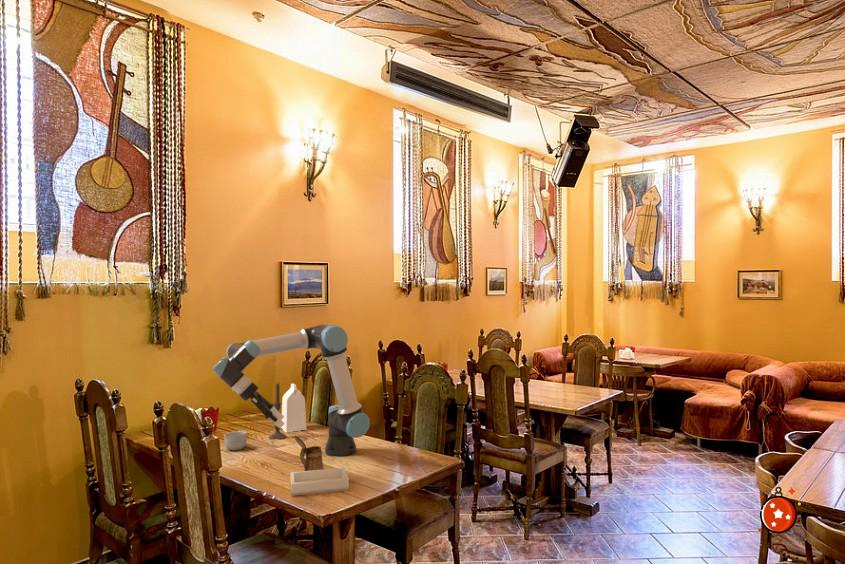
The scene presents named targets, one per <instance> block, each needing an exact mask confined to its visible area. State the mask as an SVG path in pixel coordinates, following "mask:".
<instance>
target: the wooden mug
mask: <svg viewBox="0 0 845 564" xmlns="http://www.w3.org/2000/svg"><path fill="white" fill-rule="evenodd" d="M294 440H295V442H296V443H297V444H298V445H299V446H300V448H301V450H300V452H299V453H300V454H299V460H300V461H301V463H302V465H303V466H304V467H303V468H304V469H303V471H312V470H323V469H324V464H323V456H322V455H323V451H322V448H321V446H318V445H315V446H309V447H307V445H306V444H305V442H304V441H303V440H302V438H300V437H299V436H297V435H294Z"/></svg>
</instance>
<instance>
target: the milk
mask: <svg viewBox="0 0 845 564" xmlns="http://www.w3.org/2000/svg"><path fill="white" fill-rule="evenodd" d="M281 399H282V402H281V414H282V415H283V416H284V418H283V419H282V421H283V422H284V423H285V424H284V425H283V426H282V427H281V428H282V429H283V430H282V429H281V428H280V429H281V430H282V431H284V432H285V433H286V432H290V433H294V432H293V431H298V432H302V431H301V430H306V431H307V416H306V415H307V414H306V411H307V410H306V398H305V396H304V395H303V394H302V392H301V390H300V389H298V387H297V384H295V383H290V388H289V389H288V390H287V391H286V392H285V393H284V394H283V396H282V398H281Z"/></svg>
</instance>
